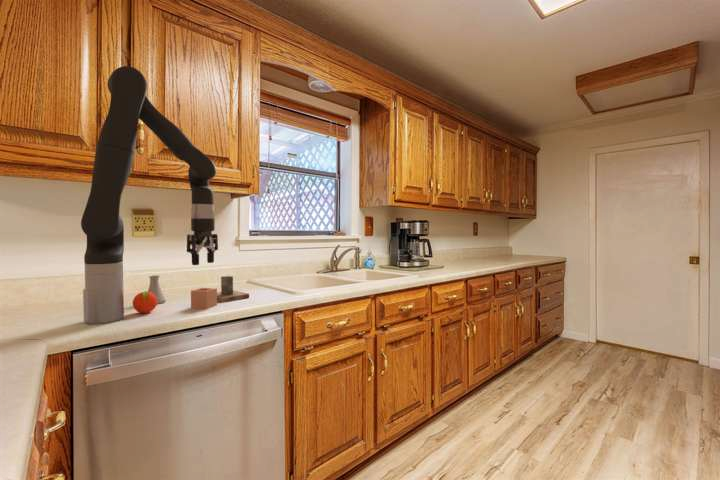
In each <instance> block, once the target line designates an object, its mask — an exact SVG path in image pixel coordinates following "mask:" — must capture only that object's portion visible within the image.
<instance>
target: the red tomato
mask: <svg viewBox="0 0 720 480" xmlns="http://www.w3.org/2000/svg"><path fill="white" fill-rule="evenodd" d="M157 305H158V304H157V297H156V296H155V295H154V294H153V293H151V292H148V291H142V292H139V293H138V294H136V295H135V296H134V297H133V300H132V307H133V309H134V310H135V311H136V312H138V313H141V314H147V313H150V312H152V311H153V310H155V308H156V307H157Z"/></svg>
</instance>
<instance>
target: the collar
mask: <svg viewBox="0 0 720 480" xmlns="http://www.w3.org/2000/svg"><path fill="white" fill-rule="evenodd" d="M217 293H218V289H217V287H208V288H207V287H198V288H195V289H193V290H190V309H209V308H212V307H215V306H218V302H217Z"/></svg>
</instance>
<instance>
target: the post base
mask: <svg viewBox="0 0 720 480" xmlns="http://www.w3.org/2000/svg"><path fill="white" fill-rule="evenodd" d="M220 280H221V281H220V288H221V290H220V292H219V291H218V292H217V303H225V302H231V301H237V300H244V299H249V298H250V293H247V292H242V291H239V290H234V276H232V275H223V276H220Z"/></svg>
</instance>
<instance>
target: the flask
mask: <svg viewBox="0 0 720 480" xmlns="http://www.w3.org/2000/svg"><path fill="white" fill-rule="evenodd" d="M147 292H151V293H153V294H154V295H155V296H156V297H157V305H159V304H162V303H166V302H167V299H166V297H165V295H164V292H163V290H162V287H161V285H160V275H157V274H156V275H149V286H148V290H147Z"/></svg>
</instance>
